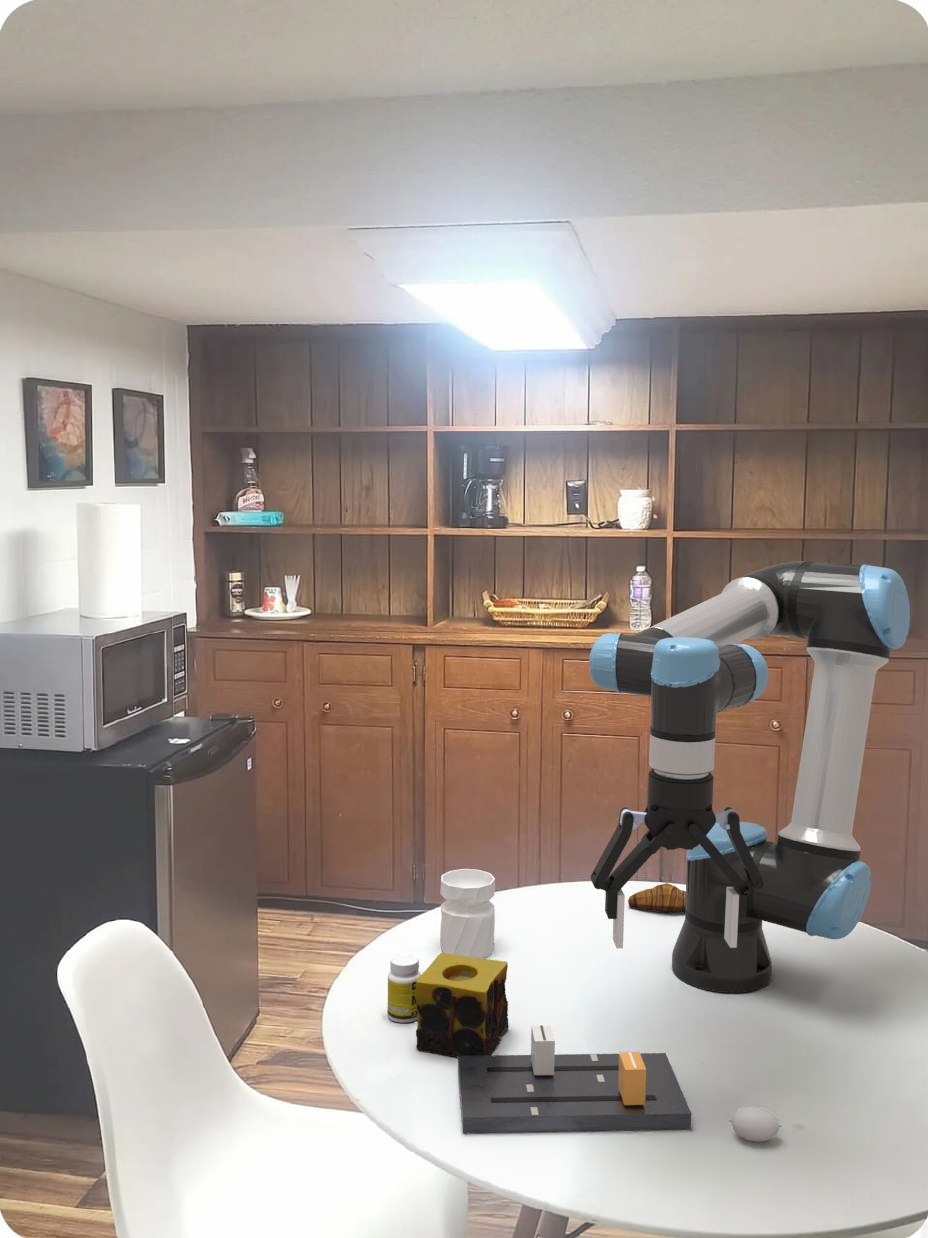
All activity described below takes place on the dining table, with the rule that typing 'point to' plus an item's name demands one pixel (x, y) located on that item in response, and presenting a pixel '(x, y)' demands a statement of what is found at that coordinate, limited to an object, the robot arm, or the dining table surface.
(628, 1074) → the fader
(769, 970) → the robot arm
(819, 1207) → the dining table surface
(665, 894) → the croissant
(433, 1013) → the candle
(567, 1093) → the console
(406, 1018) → the supplement bottle
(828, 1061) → the dining table surface
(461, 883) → the vase
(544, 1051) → the fader
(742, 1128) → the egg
